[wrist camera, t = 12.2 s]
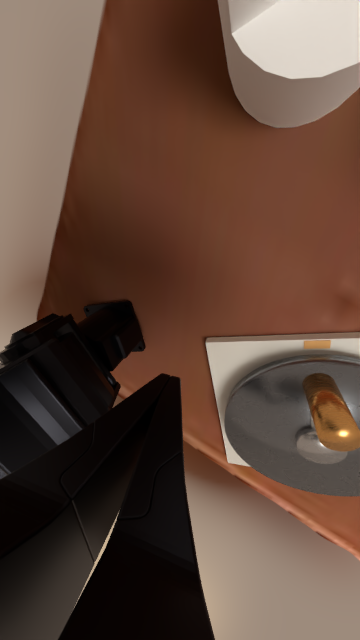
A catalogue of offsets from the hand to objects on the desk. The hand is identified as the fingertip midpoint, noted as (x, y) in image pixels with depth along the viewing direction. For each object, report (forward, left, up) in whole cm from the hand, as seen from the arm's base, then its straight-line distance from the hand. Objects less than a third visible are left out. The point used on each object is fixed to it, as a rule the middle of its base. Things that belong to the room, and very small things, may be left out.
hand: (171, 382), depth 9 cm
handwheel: (+8, -15, -11) cm, 21 cm away
